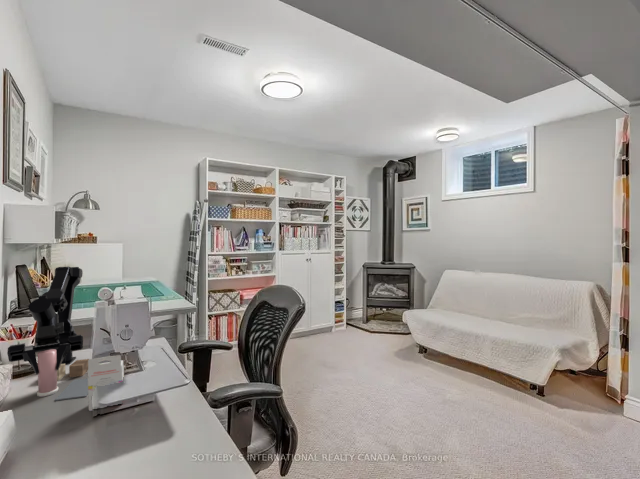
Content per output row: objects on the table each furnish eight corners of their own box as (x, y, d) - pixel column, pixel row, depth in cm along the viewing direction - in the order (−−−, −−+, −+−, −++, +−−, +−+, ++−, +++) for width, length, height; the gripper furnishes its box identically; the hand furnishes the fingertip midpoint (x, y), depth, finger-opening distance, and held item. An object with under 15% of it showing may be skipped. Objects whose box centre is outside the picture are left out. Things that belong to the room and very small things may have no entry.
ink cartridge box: (124, 397, 101) (124, 349, 101) (122, 404, 97) (122, 355, 97) (91, 403, 98) (90, 354, 98) (87, 411, 93) (86, 360, 93)
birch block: (48, 376, 117) (48, 365, 117) (65, 374, 118) (65, 363, 118) (41, 382, 112) (41, 371, 112) (59, 380, 114) (59, 369, 113)
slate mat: (73, 381, 113) (73, 379, 113) (100, 377, 115) (100, 376, 115) (54, 401, 99) (54, 399, 99) (86, 396, 102) (86, 395, 102)
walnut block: (77, 370, 122) (76, 360, 121) (89, 369, 123) (89, 358, 123) (69, 377, 116) (69, 366, 116) (82, 376, 117) (82, 365, 117)
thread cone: (42, 390, 106) (41, 350, 106) (61, 387, 108) (60, 348, 108) (33, 397, 101) (32, 355, 101) (54, 395, 103) (53, 353, 103)
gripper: (7, 319, 101) (3, 367, 93) (82, 310, 113) (84, 352, 104) (11, 339, 108) (7, 384, 99) (81, 328, 119) (83, 368, 111)
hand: (47, 371), depth 103 cm, fingers closed on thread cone, 5 cm apart
